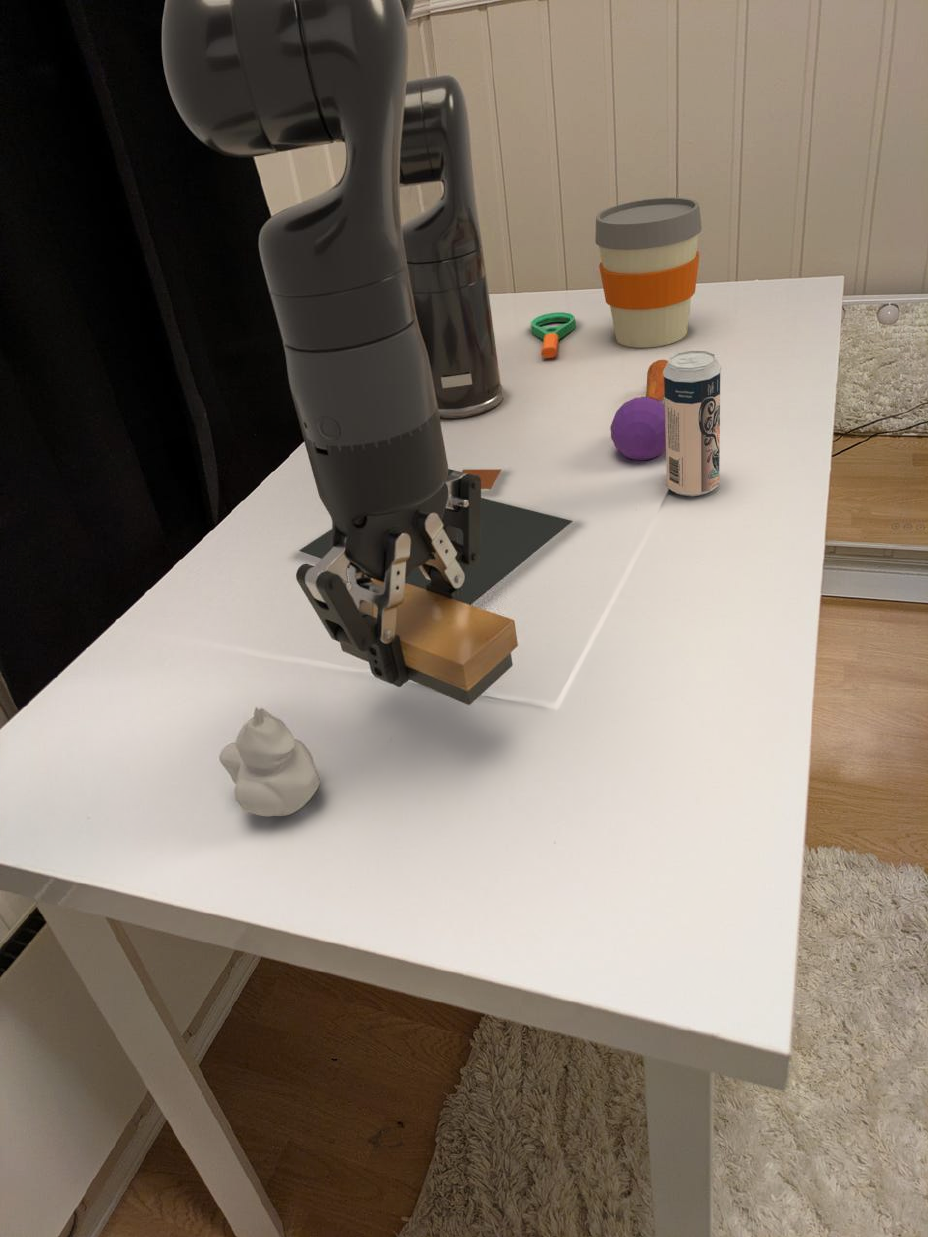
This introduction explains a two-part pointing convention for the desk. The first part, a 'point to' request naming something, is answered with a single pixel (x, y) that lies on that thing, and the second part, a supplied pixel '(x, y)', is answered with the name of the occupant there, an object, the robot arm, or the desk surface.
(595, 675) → the desk surface
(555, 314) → the toy tennis racket
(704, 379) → the beer can
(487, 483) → the brown square tile
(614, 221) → the reusable coffee cup
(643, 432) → the maraca
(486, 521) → the mat
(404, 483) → the robot arm
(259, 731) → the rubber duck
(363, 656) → the brush
